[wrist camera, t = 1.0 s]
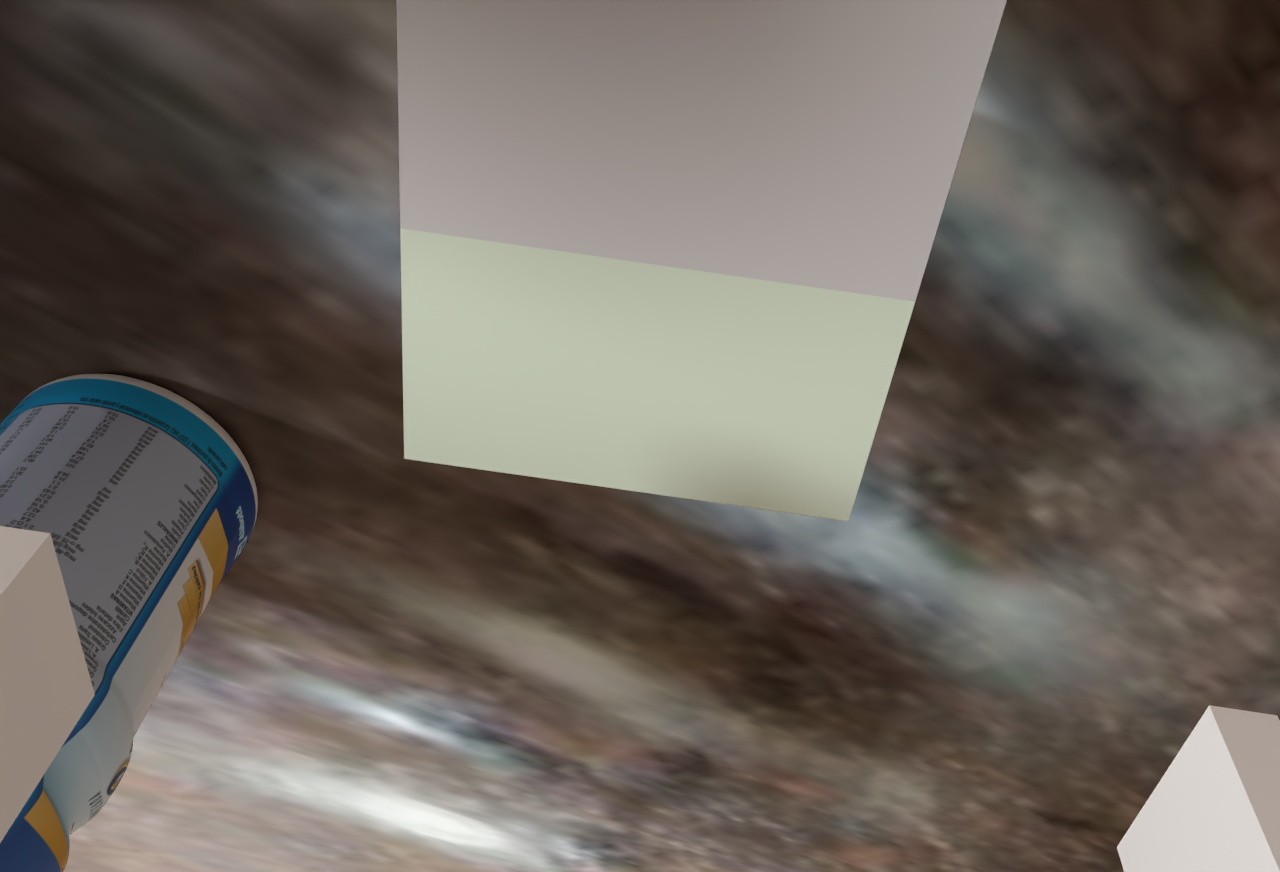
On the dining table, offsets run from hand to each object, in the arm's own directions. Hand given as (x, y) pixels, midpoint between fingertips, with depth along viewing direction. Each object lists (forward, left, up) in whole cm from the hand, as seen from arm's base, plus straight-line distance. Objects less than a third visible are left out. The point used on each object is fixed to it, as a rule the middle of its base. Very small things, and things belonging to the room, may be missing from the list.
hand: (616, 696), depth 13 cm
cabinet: (0, +2, -19) cm, 19 cm away
